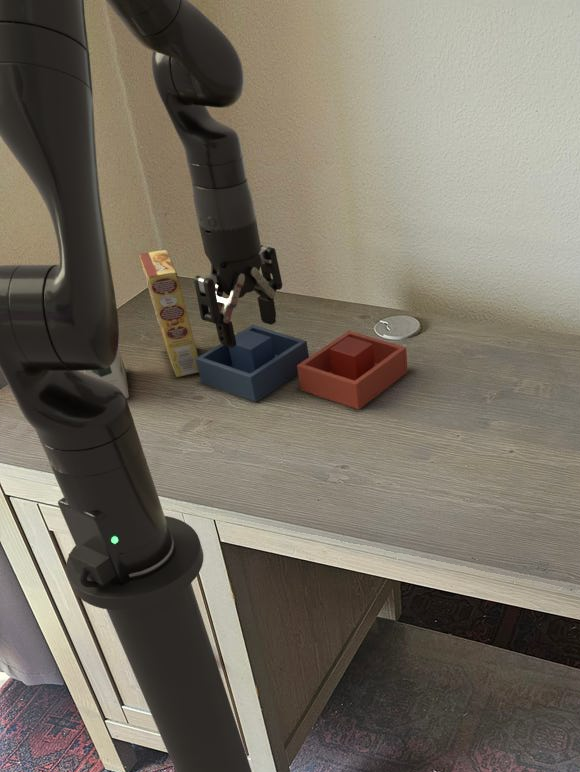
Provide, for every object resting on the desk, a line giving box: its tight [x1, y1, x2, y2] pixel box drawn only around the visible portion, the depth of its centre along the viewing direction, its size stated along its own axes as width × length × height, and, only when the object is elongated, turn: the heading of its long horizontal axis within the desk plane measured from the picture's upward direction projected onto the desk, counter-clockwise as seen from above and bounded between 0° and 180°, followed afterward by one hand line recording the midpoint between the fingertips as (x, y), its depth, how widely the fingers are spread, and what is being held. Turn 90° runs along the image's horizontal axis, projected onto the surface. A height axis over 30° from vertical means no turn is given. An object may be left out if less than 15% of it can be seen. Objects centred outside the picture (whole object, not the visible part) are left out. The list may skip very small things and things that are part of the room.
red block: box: [330, 337, 375, 381], centre depth 127 cm, size 4×4×5 cm
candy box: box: [139, 249, 199, 378], centre depth 127 cm, size 9×4×15 cm, turn 24°
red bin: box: [297, 330, 409, 410], centre depth 127 cm, size 13×11×4 cm
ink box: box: [82, 347, 130, 399], centre depth 123 cm, size 9×5×12 cm, turn 18°
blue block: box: [229, 330, 275, 374], centre depth 128 cm, size 4×4×5 cm
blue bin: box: [196, 324, 310, 403], centre depth 129 cm, size 13×11×4 cm
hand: (249, 334), depth 125 cm, fingers open, 8 cm apart
